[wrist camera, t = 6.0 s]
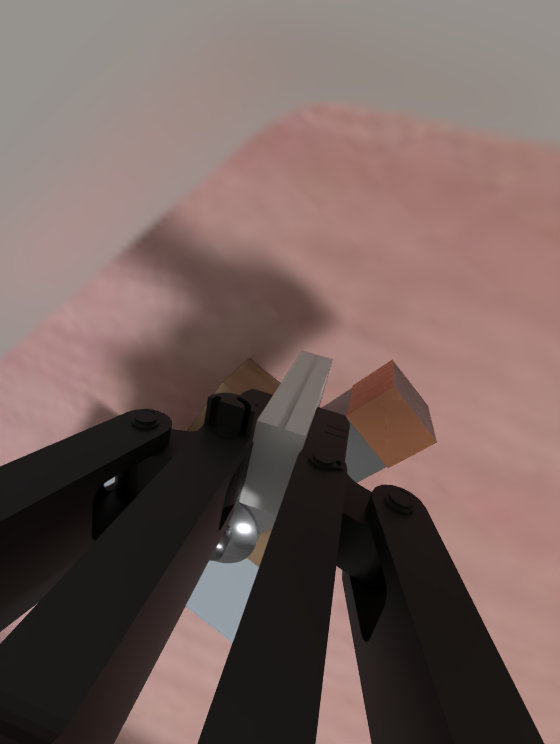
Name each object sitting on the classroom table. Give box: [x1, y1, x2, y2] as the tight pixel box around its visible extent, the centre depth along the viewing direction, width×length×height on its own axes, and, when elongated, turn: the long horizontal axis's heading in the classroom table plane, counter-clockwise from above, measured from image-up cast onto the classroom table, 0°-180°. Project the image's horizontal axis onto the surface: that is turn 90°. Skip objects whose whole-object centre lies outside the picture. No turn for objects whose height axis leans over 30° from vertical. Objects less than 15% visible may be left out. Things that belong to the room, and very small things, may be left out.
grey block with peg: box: [104, 477, 259, 643], centre depth 25 cm, size 7×15×6 cm, turn 54°
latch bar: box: [209, 360, 437, 563], centre depth 17 cm, size 12×4×4 cm, turn 130°
